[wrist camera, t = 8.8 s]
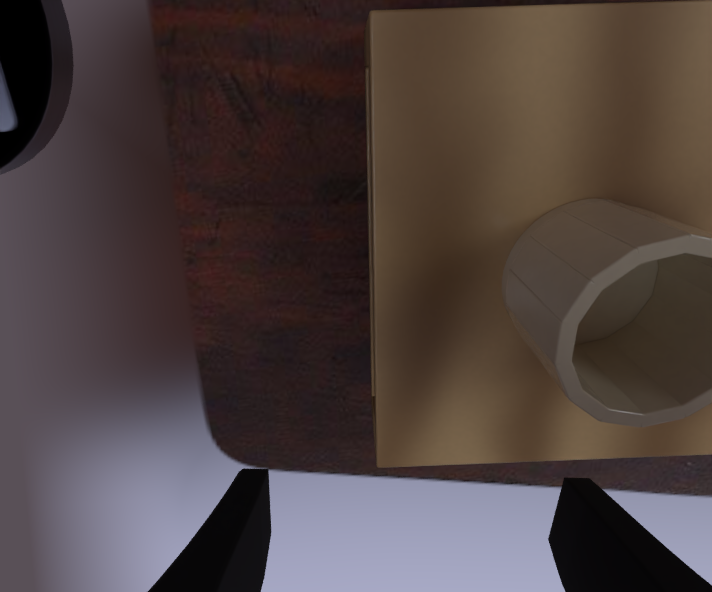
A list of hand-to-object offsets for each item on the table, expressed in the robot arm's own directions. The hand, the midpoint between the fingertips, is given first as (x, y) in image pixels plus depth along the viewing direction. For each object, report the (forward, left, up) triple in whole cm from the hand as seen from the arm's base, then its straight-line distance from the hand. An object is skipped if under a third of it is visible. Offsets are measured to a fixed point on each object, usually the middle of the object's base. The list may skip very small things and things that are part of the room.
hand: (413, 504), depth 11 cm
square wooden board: (+6, +3, -10) cm, 12 cm away
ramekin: (+6, +3, -6) cm, 9 cm away
